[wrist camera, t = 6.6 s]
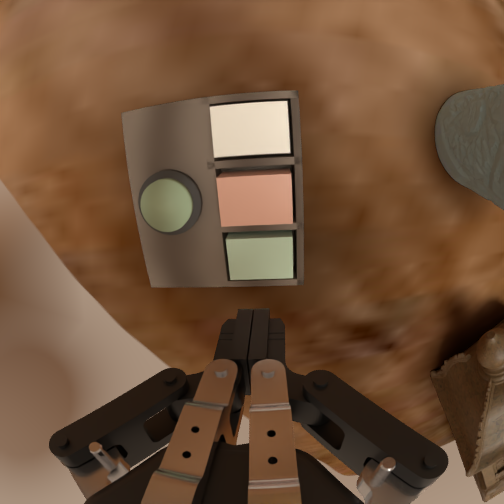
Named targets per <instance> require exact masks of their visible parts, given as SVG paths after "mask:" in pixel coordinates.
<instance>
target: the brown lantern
mask: <svg viewBox="0 0 504 504" xmlns="http://www.w3.org/2000/svg"><path fill="white" fill-rule="evenodd" d="M430 374H431V375H430V376H431V380H432V382H433V385H434V387H435V389H436V392H437V395H438V397H439V400H440V402H441V404H442V407H443V409H444V411H445V414H446V416H447V419H448V422H449V424H450V427H451V430H452V432H453V435H454V438H455V440H456V443H457V446H458V450H459V453H460V456H461V459H462V462H463V465H464V467H465V470H466V476H467V477H470V476H472V475H473V476H474V478H475V481H476V484H477V486H478V489H479V491H480V494H481V497H482V500H483V501H484V502H487V501H488V500H490V499H491V498H493V497H495V496H496V495H498V494H500V493H501V492H503V491H504V319H503V320H502V321H501V322H500V323H499V324H497V325H496V326H495V327H494V328H493V329H491V330H489V331H487V332H486V333H485V334H484V335H483V336H482V337H481V338H480V340H478V341H477V342H476V343H475V344H473V345H472V346H471V347H470V348H468V349H467V350H466V351H464V352H463V353H458V355H457V354H456V355H455V356H453V357H451V358H450V359H449V360H444V365H442V366H441V368H440V369H439V370H437V371H435V370H433V371H431V372H430Z"/></svg>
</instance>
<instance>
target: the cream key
mask: <svg viewBox="0 0 504 504" xmlns="http://www.w3.org/2000/svg"><path fill="white" fill-rule="evenodd" d="M210 116H211V128H212V139H213V150H214V158H215V157H227V156H240V155H256V154H275V153H290V138H289V121H288V105H287V101H273V102H255V103H242V104H231V105H221V106H212V107H210Z"/></svg>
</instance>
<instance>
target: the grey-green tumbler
mask: <svg viewBox="0 0 504 504" xmlns="http://www.w3.org/2000/svg"><path fill="white" fill-rule="evenodd" d="M435 143H436V149H437V153H438V156H439V158H440V161H441V163H442V165H443V167H444V168H445V170H446V171H447V172H448V174H449V175H450V176H451V177H452V178H453V179H454V180H455V181H456V182H458V183H460V184H461V185H463V186H465V187H467V188H469V189H471V190H472V191H474V192H476V193H477V194H479V195H480V196H482V197H484V198H485V199H487V200H491V201H492V202H493V203H494V204H495V205H497V206H499V207H500V208H501V209H503V210H504V84H503V85H497V86H490V87H486V88H481V89H473V90H467V91H462V92H458V93H456V94H454V95H453V96H451V97H450V98H449V99H448V100H447V101H446V102H445V104H444V105H443V106H442V108H441V109H440V111H439V113H438V116H437V119H436V124H435Z"/></svg>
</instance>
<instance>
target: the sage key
mask: <svg viewBox="0 0 504 504" xmlns="http://www.w3.org/2000/svg"><path fill="white" fill-rule="evenodd" d="M226 246H227V255H228V264H229V272H230V280H250V279H284V278H293V236H292V230H269V231H244V232H229V233H228V235H227V238H226Z"/></svg>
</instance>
